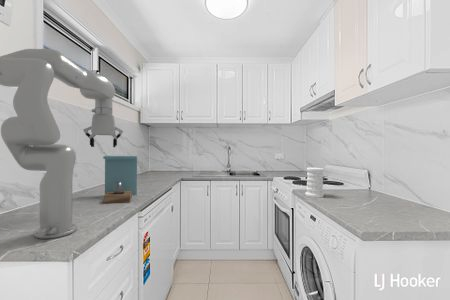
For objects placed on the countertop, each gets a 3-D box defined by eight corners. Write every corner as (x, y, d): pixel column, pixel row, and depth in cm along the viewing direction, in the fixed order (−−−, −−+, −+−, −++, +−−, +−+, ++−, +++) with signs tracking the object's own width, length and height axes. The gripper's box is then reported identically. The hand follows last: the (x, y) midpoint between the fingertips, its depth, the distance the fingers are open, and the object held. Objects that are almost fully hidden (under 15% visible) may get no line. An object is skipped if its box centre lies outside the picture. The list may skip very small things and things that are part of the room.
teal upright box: (136, 196, 142) (136, 156, 141) (103, 198, 136) (103, 156, 136) (136, 194, 149) (137, 155, 148) (105, 195, 143) (105, 155, 143)
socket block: (129, 202, 128) (129, 195, 128) (103, 203, 125) (103, 196, 124) (131, 197, 141) (131, 190, 141) (107, 198, 137) (107, 191, 137)
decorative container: (315, 198, 148) (316, 169, 148) (301, 194, 158) (302, 167, 158) (327, 196, 154) (328, 169, 153) (313, 192, 164) (314, 167, 163)
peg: (121, 200, 131) (121, 183, 131) (114, 201, 130) (114, 183, 130) (122, 199, 135) (122, 181, 135) (115, 199, 134) (115, 182, 134)
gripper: (81, 110, 109) (81, 147, 109) (122, 112, 114) (121, 147, 114) (85, 112, 116) (85, 146, 116) (123, 114, 121) (123, 147, 121)
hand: (103, 147), depth 115 cm, fingers open, 9 cm apart
